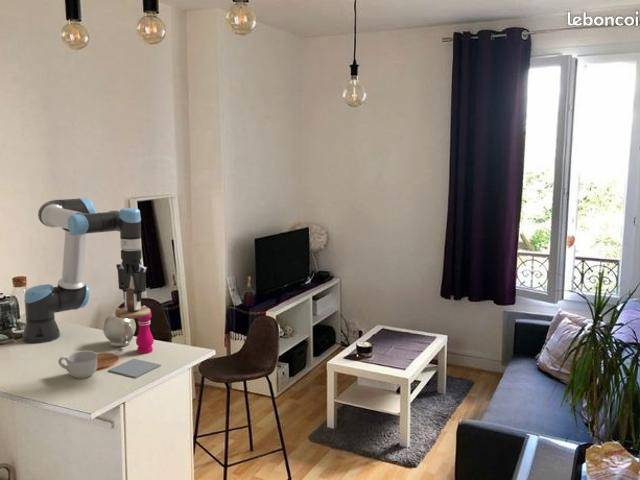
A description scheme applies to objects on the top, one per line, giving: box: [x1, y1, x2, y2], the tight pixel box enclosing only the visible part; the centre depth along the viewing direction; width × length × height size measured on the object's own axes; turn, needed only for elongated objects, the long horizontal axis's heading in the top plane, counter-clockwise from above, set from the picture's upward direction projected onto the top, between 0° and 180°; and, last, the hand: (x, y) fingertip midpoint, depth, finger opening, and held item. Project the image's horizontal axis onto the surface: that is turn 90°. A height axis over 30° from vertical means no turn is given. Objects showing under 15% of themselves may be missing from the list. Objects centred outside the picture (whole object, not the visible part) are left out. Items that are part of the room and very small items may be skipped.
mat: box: [107, 358, 162, 379], centre depth 231 cm, size 14×14×1 cm
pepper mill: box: [135, 305, 154, 355], centre depth 249 cm, size 7×7×20 cm
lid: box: [114, 286, 151, 320], centre depth 226 cm, size 13×13×10 cm
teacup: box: [57, 350, 98, 379], centre depth 223 cm, size 14×11×8 cm
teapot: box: [102, 307, 137, 348], centre depth 256 cm, size 18×14×16 cm
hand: (132, 308), depth 227 cm, fingers closed on lid, 4 cm apart
